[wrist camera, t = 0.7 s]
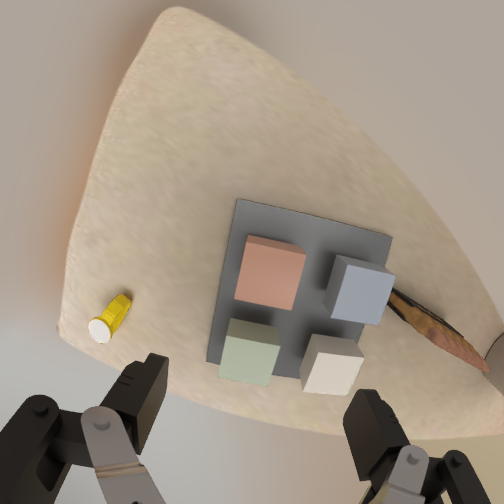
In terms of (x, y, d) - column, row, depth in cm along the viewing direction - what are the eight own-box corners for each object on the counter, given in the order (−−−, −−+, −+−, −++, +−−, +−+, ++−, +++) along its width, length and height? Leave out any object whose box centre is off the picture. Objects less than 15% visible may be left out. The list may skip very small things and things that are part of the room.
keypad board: (388, 235, 28) (404, 242, 24) (337, 377, 32) (345, 397, 28) (238, 198, 27) (234, 199, 24) (207, 356, 31) (201, 375, 27)
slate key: (380, 264, 25) (396, 275, 21) (365, 309, 26) (378, 325, 22) (336, 254, 25) (347, 264, 21) (322, 301, 26) (330, 317, 22)
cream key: (354, 339, 26) (364, 358, 23) (339, 375, 27) (346, 395, 24) (312, 333, 26) (318, 352, 23) (298, 370, 27) (302, 391, 24)
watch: (123, 284, 30) (99, 300, 24) (142, 298, 30) (121, 317, 24) (103, 321, 31) (80, 341, 25) (120, 335, 31) (100, 357, 25)
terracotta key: (300, 246, 25) (306, 255, 21) (287, 295, 26) (291, 310, 22) (248, 234, 25) (246, 241, 21) (237, 284, 26) (234, 298, 22)
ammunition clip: (382, 300, 29) (435, 354, 18) (391, 286, 29) (449, 335, 17) (436, 332, 30) (487, 381, 18) (444, 320, 30) (498, 366, 18)
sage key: (278, 327, 26) (280, 346, 23) (266, 365, 27) (267, 386, 24) (230, 317, 26) (226, 335, 23) (222, 357, 27) (217, 377, 24)
